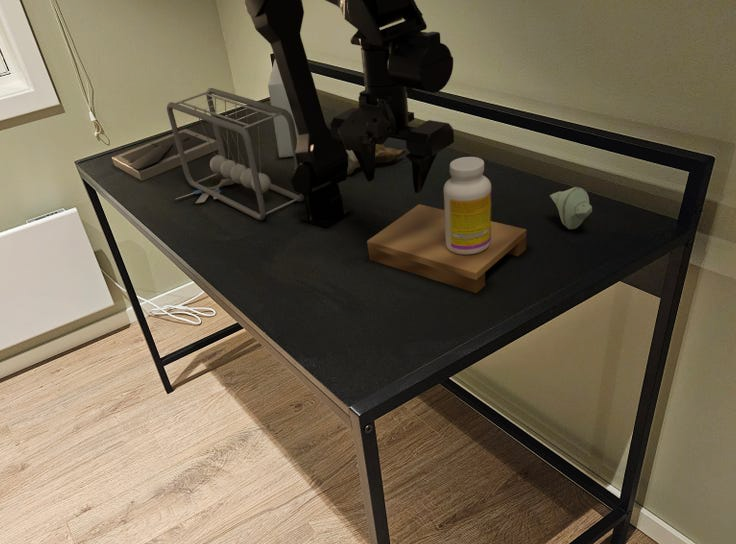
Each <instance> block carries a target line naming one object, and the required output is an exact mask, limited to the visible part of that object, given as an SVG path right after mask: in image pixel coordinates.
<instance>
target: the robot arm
mask: <svg viewBox="0 0 736 544" xmlns="http://www.w3.org/2000/svg"><path fill="white" fill-rule="evenodd" d="M243 1H244V7H245V10H246V12H247V13H248V15H249V17H250V19H251V22H252V24H253V27H254V29H255V31H256V32H258V34H259V35H260V36H261V37H262V38H264V40H266V42H268V44H269V45H270V47H271V49H272V53H273V57H274V60H276V63H277V66H278V69H279V72H280V76H281V79H282V82H283V85H284V88H285V92H286V95H287V98H288V101H289V105H290V108H291V111H292V114H293V117H294V121H295V124H296V127H297V130H298V134H299V136H298V141H297V146H296V151H295V156H296V160H297V164H298V167H297V169H296V168H295V171H294V173H293V174H292V176H291V178H290V183H291V186H292V188H293V191H294V192H296V193H297V194H299V195H300V194H302V195H304V200H303V201H304V205H305V210H306V214H305V215H303V216H302V217H301V221H302V222H305V223H309V224H311V225H315V226H319V227H322V228H329V227H331V226H332V225H333V224H335V223H336V222H337V221H339V220H341V219H342V218H344V217H346V216H347V215H348V214H349V213H350V211H349V209H346V208H344V205H343V196H342V194H341V191H340V185H339V184H340V183H342V182H345V181H347V176H348V174H347V169H348V157H349V155H348V153H347V151H346V150H348V151H351V150H352V151H353V153H354V155H355V156H356V158H357V160H358V162H359V164H360V166H361V167H360V168H361V170H362V172H363V175H364V176H365V179H366V181H367V182H370V183H371V182H372V181H374V180H375V173H376V164H375V153H376V144H379V145H383V144H384V145H385V142H386V141H387V140H388V139H389V138H391V139H396V140H401V141H405V148H406V150H407V151H408V152H409V153H406V155H405V157H406V158H407V159H408V160H409V162H411V170H412V172H411V173H412V182H413V183H412V184H413V189H414V193H415V194H419V193H420V192H422V190H423V187H424V186H425V183H426V180H427V178H428V176H429V173H430V171H431V168H432V166H433V163H434V161H435V159H436V157H437V156H438V154H439V153H440V152H442V151H443V150H444V149H446V148H448V147H449V146H451V145H452V144H454V143H455V130H454V127H453V126H452V125H451V124H450V123H449V122H444V121H438V120H432V119H428V120H426V121H424V122H423V123H421V124H419V125H418V126H410V123H411V122H413V121H414V120H415V112H413V111H409V104H408V93H410V92H412V91H413V90H418V91H422V92H427V93H431V94H435V93H438V92H440V91H442V90H443V89H444V88H445V87H446V86H447V85H448V83H449V81H450V79H451V77H452V74H453V70H454V56H452V52H451V50H450V48H449V47H448V46H447V45H446V44H445V43H443V42H441V33H440V32H439V31H428V32H427V31H425V30H427V28H428V25H427V22H426V21H425V19H424V17H423V16H424V15H423V13H422V12H421V10H420V8H419V7H418V5H417V3H416V1H415V0H324V1H325V2H327V3H330V4H332V5H333V6H336V7H338V9H340V10H341V13H342V18H343V19H344V20H345V21H346V22H348V23H349V24H350V25H351V26H352V27H354V28H355V29H356V32H355V33H354V34H353V35H352V37H351V38H350V40H349V41H350V44H351V45H354V46H358V47H359V46H360V52H361V54H360V55H361V62H362V72H363V73H362V74H363V83H364V90H362V91H360V92H359V93H358V94H359V96H358V97H357V99H358V107H351V108H349V109H347V110H345V111H343V112H341V113H339V114H338V115H336V116H334V117H333V118H332V120H331V121H330V125H329V126H328V124H327V121H326V118H325V115H324V112H323V108H322V105H321V101H320V97H319V94H318V91H317V87H316V83H315V80H314V77H313V74H312V70H311V67H310V64H309V60H308V56H307V53H306V49H305V46H304V42H303V39H302V35H301V31H302V28H303V27H302V26H303V21H304V16H305V10H304V5H303V0H243ZM402 20H403V21H402ZM400 21H401V22H400ZM397 22H398V23H397ZM394 23H395V24H394ZM383 27H384V28H383Z"/></svg>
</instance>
